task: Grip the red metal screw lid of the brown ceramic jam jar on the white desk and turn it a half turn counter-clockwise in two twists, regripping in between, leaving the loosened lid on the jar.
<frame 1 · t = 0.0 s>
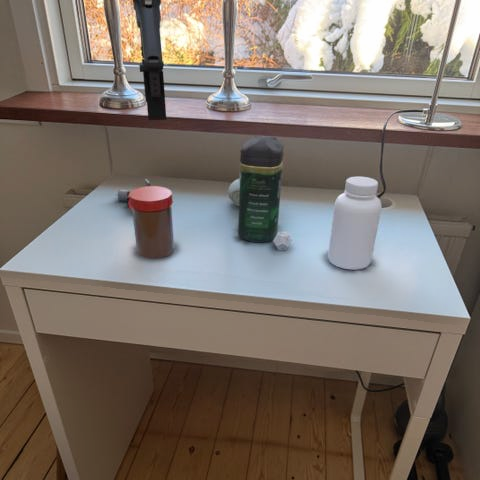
hand: (155, 110, 76), 24 cm above the table, tool pointing down, fingers open, 13 cm apart
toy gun: (137, 207, 106), on the table
pill bottle: (348, 261, 87), on the table
jam jar: (155, 249, 88), on the table
air freshener: (251, 206, 108), on the table
coffee jar: (258, 234, 95), on the table
game die: (281, 248, 90), on the table
lid: (150, 195, 82), point 11 cm above the table, screwed on, not yet turned
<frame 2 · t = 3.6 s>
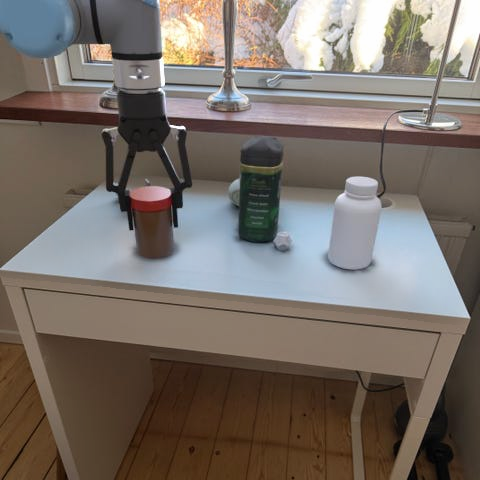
hand: (153, 225, 86), 5 cm above the table, tool pointing down, fingers closed on lid, 7 cm apart
lid: (150, 195, 82), point 11 cm above the table, screwed on, not yet turned, touching gripper
everything else where it was.
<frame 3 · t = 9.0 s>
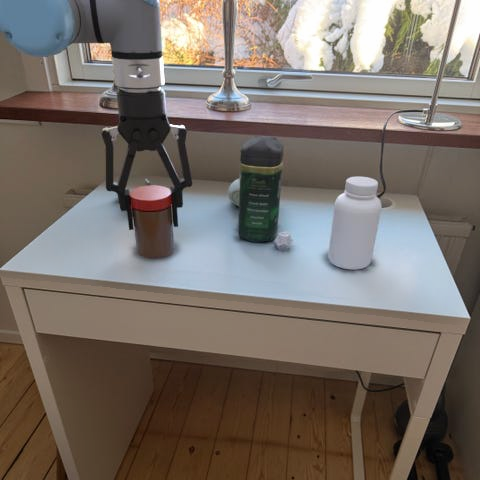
hand: (153, 225, 86), 5 cm above the table, tool pointing down, fingers closed on lid, 7 cm apart
lid: (150, 194, 82), point 11 cm above the table, turned 90° so far, risen 0.1 cm, still on its thread, touching gripper
everything else where it was.
when the fingers open (5 cm above the table, at t = 11.2 s): lid stays where it is, point 11 cm above the table.
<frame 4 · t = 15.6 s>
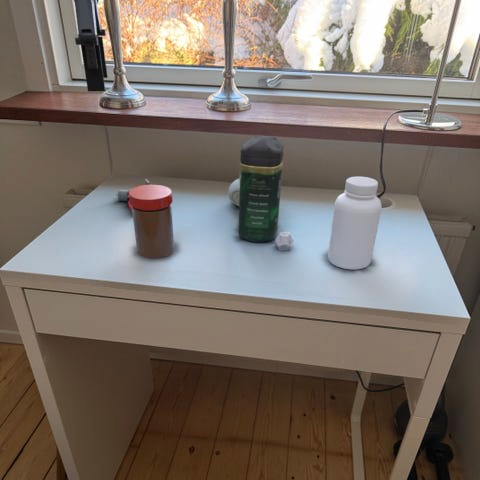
hand: (98, 84, 81), 27 cm above the table, tool pointing down, fingers open, 13 cm apart
lid: (150, 194, 82), point 11 cm above the table, turned 179° so far, risen 0.3 cm, still on its thread
everything else where it was.
at the end: lid turned 0.50 turns (still on its thread); lid is still on its thread (0.50 turns) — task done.
